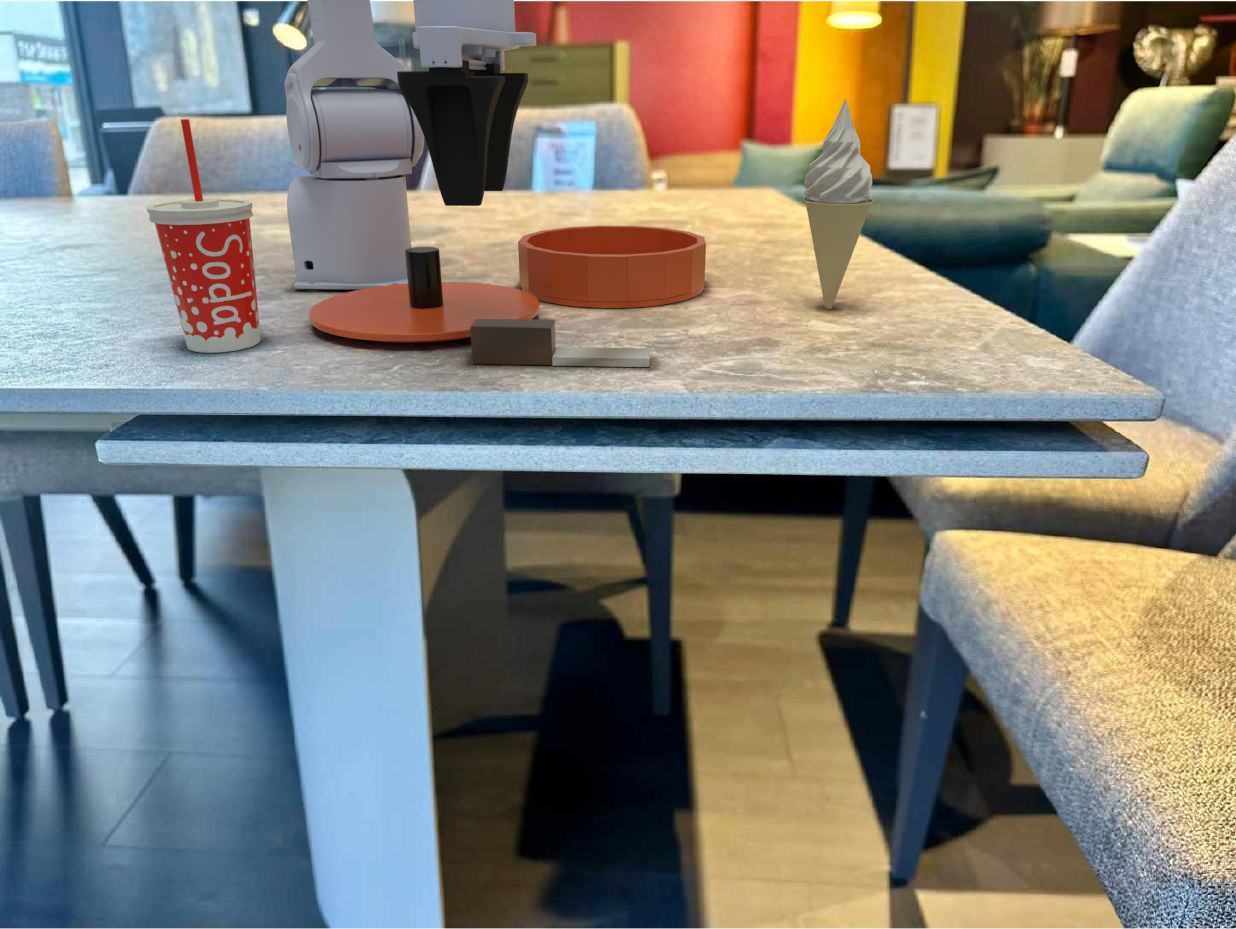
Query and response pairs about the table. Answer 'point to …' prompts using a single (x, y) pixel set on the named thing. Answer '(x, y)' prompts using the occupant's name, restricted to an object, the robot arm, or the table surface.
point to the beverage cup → (209, 265)
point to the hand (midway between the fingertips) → (476, 197)
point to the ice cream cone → (837, 202)
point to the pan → (612, 266)
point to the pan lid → (420, 306)
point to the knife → (541, 346)
